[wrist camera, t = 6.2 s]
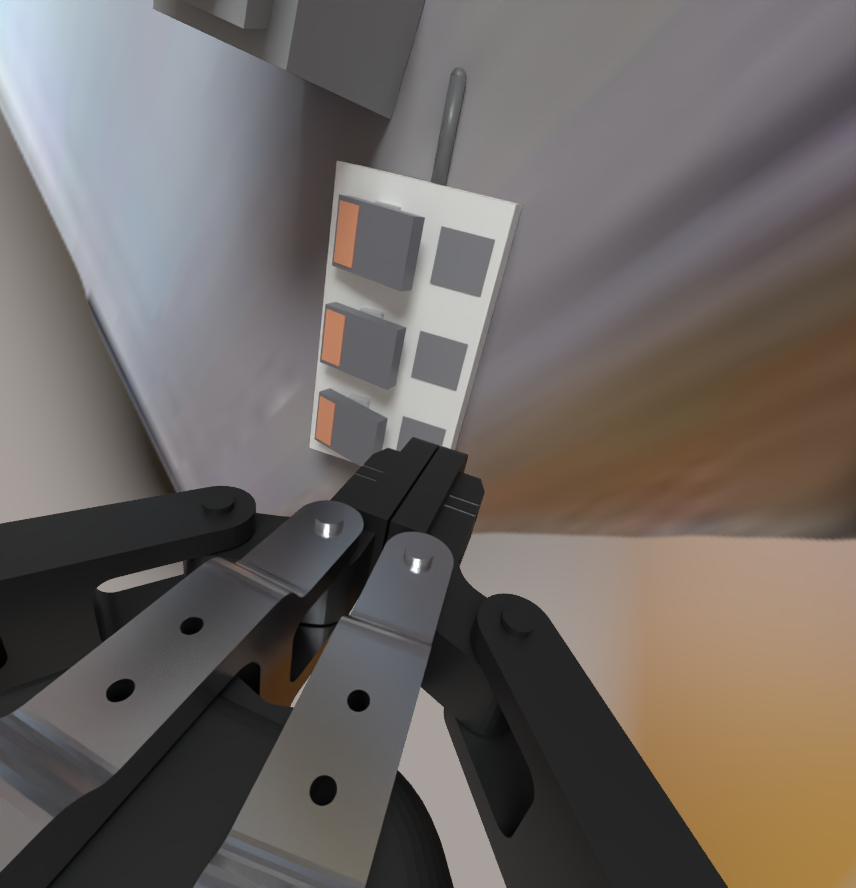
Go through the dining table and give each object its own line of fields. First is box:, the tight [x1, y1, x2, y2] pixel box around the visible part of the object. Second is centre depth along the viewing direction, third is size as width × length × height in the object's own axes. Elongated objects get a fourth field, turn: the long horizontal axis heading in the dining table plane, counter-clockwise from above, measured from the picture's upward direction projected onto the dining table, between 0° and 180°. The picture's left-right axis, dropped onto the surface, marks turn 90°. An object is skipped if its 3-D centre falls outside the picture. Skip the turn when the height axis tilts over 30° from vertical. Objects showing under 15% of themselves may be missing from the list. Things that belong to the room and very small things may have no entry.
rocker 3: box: [314, 388, 388, 467], centre depth 37 cm, size 6×4×1 cm
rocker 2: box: [320, 302, 406, 390], centre depth 34 cm, size 6×4×1 cm
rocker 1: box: [332, 195, 425, 291], centre depth 31 cm, size 6×4×1 cm
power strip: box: [310, 68, 523, 462], centre depth 35 cm, size 12×28×5 cm, turn 168°
